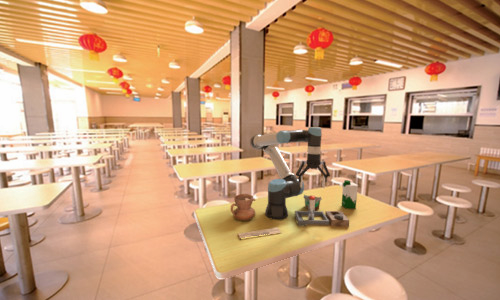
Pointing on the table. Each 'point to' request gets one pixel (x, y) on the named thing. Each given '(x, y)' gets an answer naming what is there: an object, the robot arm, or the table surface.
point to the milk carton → (349, 195)
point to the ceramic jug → (243, 207)
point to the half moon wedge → (317, 202)
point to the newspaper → (259, 232)
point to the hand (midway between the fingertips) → (312, 187)
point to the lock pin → (311, 208)
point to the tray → (310, 222)
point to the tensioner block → (337, 218)
